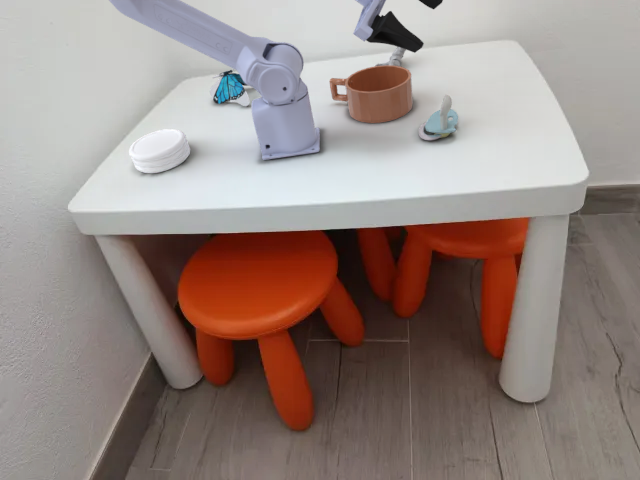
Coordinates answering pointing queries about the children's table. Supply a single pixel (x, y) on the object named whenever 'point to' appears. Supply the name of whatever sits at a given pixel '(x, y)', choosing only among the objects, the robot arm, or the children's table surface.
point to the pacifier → (440, 122)
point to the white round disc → (159, 150)
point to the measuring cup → (376, 93)
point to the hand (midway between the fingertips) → (429, 26)
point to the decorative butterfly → (229, 89)
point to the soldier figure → (395, 57)
